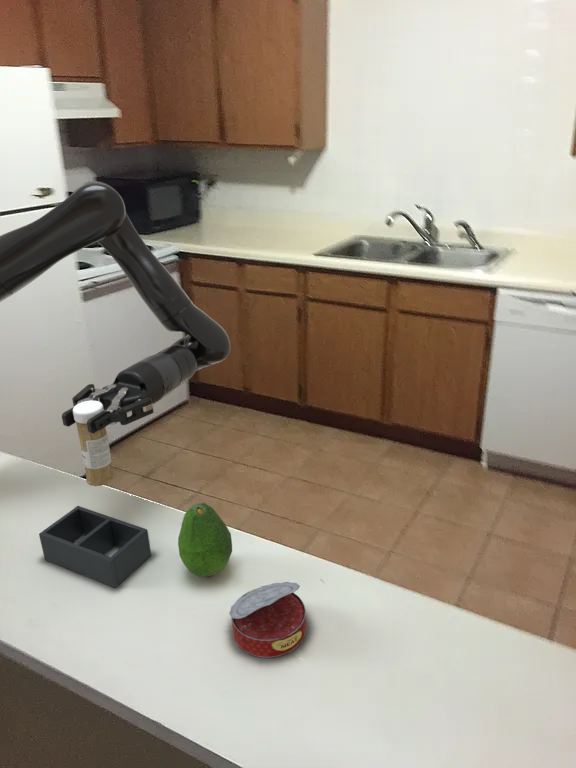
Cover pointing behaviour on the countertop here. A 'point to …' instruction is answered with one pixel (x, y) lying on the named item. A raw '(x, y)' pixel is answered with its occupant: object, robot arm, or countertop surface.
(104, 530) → the divided storage box
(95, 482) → the sprinkles bottle
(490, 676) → the countertop surface
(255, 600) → the canned food
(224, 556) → the avocado
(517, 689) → the countertop surface
